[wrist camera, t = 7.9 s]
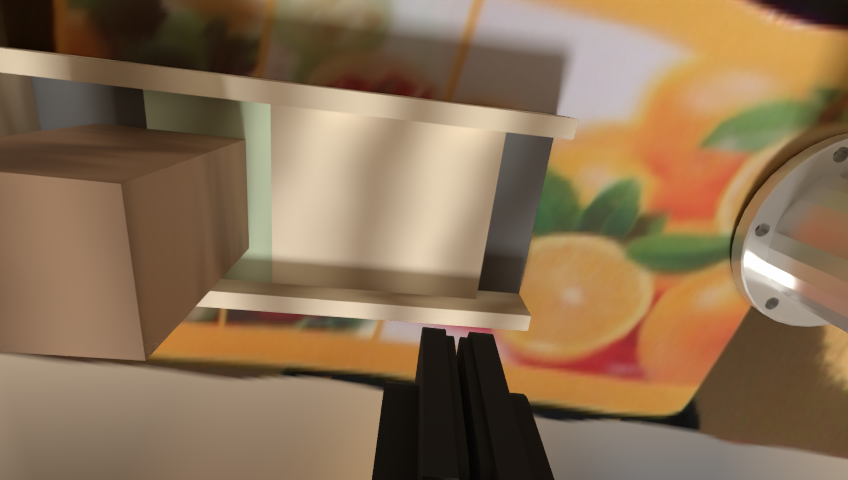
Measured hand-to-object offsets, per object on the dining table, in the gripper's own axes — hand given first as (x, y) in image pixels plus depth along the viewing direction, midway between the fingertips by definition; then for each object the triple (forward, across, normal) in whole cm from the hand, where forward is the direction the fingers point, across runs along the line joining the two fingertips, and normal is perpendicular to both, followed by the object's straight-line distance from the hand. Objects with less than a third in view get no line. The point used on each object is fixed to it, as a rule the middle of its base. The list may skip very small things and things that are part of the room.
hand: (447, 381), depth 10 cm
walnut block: (+13, +14, 0) cm, 19 cm away
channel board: (+15, +8, 0) cm, 17 cm away
